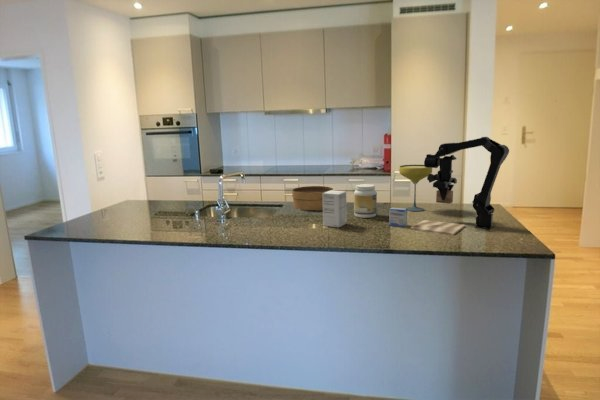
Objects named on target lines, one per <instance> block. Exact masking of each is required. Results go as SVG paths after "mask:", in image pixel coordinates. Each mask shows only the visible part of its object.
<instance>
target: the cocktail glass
mask: <svg viewBox="0 0 600 400" xmlns="http://www.w3.org/2000/svg"><path fill="white" fill-rule="evenodd" d="M398 170H399V171H398V172H399V174H400V175H401V176H402V177H404V178H406V179H408V180H409V181H410V182H412V183H413V184H414V196H413V197H414V199H413V206H410V207H405V208H406V209H407V212H408V211H409V212H415V213H417V212H422V211H425V208H423V207H419V206H417V204H416V203H417V202H416V197H417V195H416V194H417V191H416V189H417V187H416V186H417V184H418V183H419V182H420V181H421V180H423V179H425V178H427V177H428V175H429V174H433V168H426V167H425V166H424V164H404V165H400V166H399V168H398Z"/></svg>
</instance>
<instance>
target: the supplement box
mask: <svg viewBox="0 0 600 400" xmlns="http://www.w3.org/2000/svg"><path fill="white" fill-rule="evenodd" d="M322 200H323V210H322V226H323V227H332V228H333V227H334V228H340V227H342V226H345V225H346V224H347V223H348V222H347V221H348V220H347V219H348V218H347V216H348V215H347V191H345V190H334V189H333V190H330V191H327V192H325V193H322Z"/></svg>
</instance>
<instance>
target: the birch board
mask: <svg viewBox="0 0 600 400" xmlns="http://www.w3.org/2000/svg"><path fill="white" fill-rule="evenodd" d="M465 226H466V224H460V223H453V222H451V223H450V222H445V221H444V222H443V221H436V220H427V219H424V220H422V221H420V222H418V223H416V224H415V225H413V226H411V227H410V230H412V231H419V232H421V231H422V232H427V233H435V234H444V235H450V236H454V235H455V234H456V233H458V232H460V231H461V230H462V229H464V227H465Z"/></svg>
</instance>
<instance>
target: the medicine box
mask: <svg viewBox="0 0 600 400" xmlns="http://www.w3.org/2000/svg"><path fill="white" fill-rule="evenodd" d="M406 208H407V207H404V208H402V207H391V208H389V216H388V217H389V219H388V223H389V224H388V225H389V227H398V228H405V227H407V226H408V211H407V209H406Z"/></svg>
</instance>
